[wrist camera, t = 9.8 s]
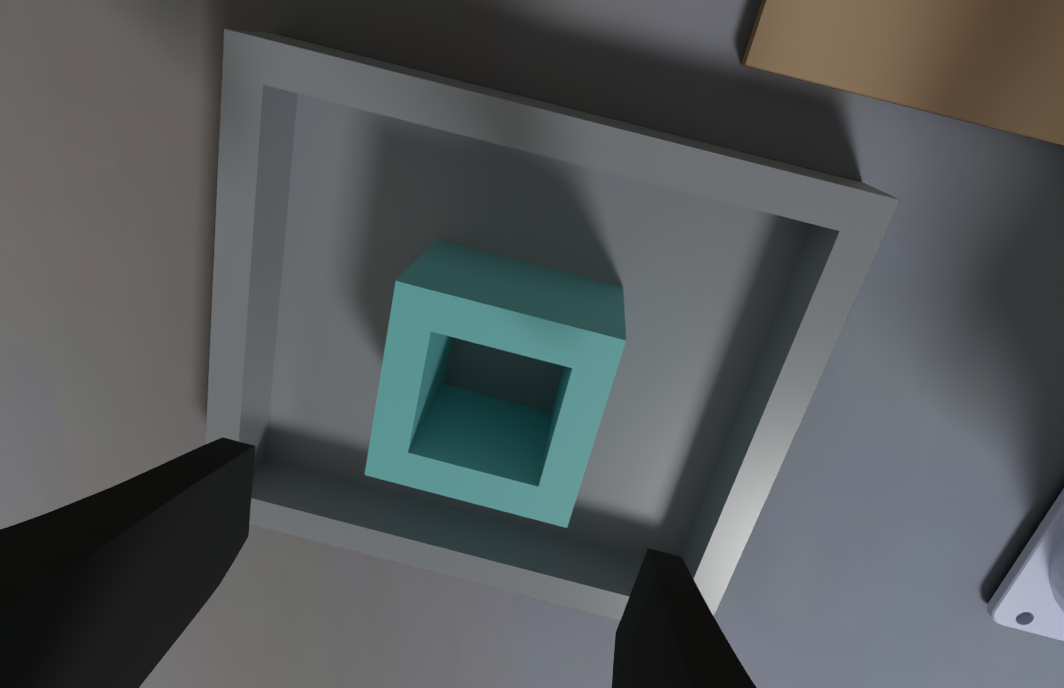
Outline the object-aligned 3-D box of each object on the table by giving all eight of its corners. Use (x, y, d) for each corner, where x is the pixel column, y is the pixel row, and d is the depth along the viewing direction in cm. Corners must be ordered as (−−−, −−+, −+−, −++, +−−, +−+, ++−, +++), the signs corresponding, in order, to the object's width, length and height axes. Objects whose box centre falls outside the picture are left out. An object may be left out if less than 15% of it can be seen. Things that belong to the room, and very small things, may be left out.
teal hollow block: (623, 287, 19) (626, 340, 15) (563, 483, 22) (554, 569, 18) (436, 239, 19) (395, 280, 15) (400, 441, 22) (357, 517, 18)
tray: (862, 182, 18) (900, 199, 16) (692, 585, 23) (702, 641, 21) (273, 33, 18) (224, 28, 16) (242, 467, 24) (202, 511, 21)
